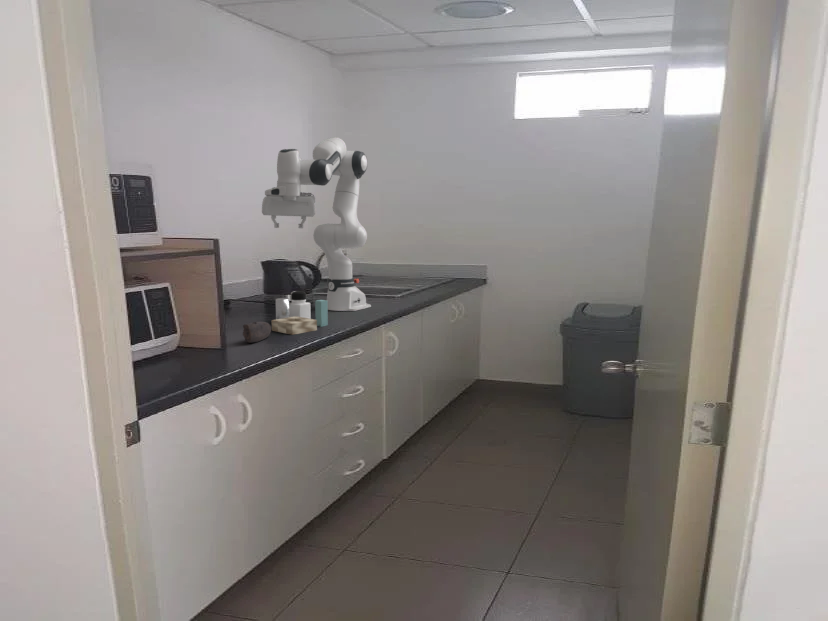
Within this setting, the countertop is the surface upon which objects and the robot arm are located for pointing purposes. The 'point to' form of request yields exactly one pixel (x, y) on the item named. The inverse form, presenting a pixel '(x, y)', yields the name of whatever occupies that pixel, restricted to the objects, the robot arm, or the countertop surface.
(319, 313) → the square bit
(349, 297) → the robot arm
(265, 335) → the perforated stone tool
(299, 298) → the medicine bottle
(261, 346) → the countertop surface
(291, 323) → the bore block
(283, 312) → the cylinder
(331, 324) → the countertop surface
